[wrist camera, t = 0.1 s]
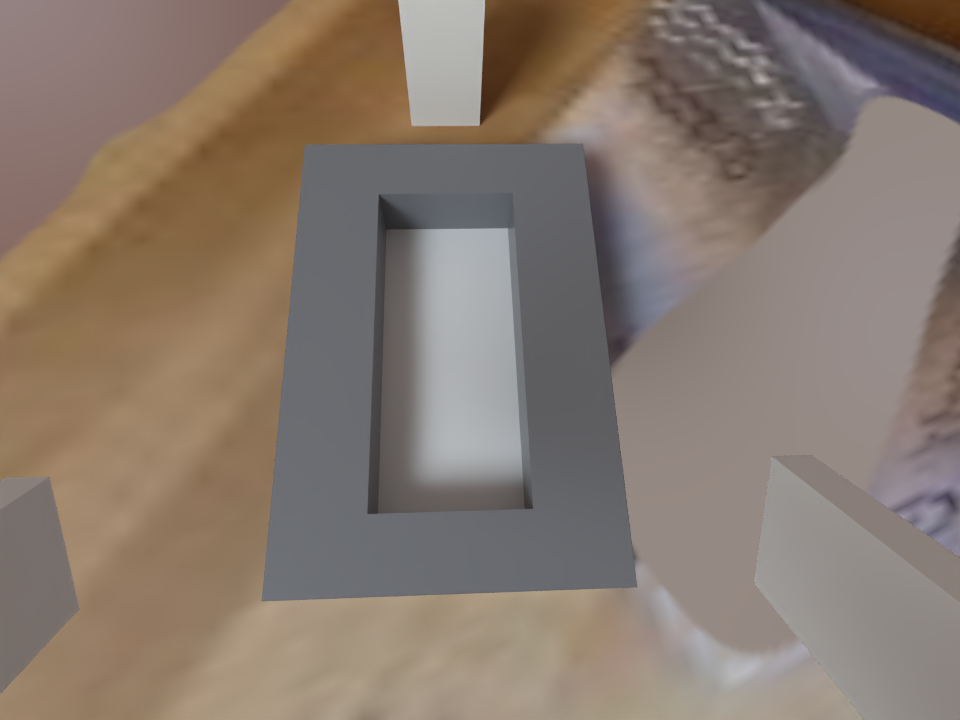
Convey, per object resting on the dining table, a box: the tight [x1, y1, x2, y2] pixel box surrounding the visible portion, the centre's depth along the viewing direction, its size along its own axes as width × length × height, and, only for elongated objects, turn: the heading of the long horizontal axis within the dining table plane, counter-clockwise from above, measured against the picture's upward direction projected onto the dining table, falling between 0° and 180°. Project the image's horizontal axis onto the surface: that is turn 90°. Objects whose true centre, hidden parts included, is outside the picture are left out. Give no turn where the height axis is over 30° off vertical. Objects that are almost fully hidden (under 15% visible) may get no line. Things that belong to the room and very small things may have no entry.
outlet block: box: [262, 144, 637, 601], centre depth 27 cm, size 21×14×4 cm, turn 2°
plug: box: [398, 0, 485, 126], centre depth 30 cm, size 4×4×9 cm
